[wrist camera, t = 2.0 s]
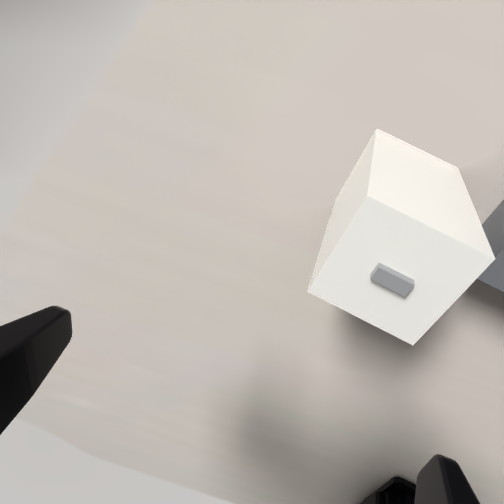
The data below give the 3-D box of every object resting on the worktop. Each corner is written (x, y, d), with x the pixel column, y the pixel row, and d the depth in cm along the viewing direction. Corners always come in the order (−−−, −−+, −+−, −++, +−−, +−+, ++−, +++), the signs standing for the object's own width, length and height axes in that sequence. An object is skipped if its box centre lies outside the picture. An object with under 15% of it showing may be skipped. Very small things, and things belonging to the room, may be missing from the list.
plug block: (457, 167, 18) (497, 264, 11) (406, 236, 20) (413, 351, 13) (376, 128, 18) (366, 199, 11) (334, 200, 20) (305, 296, 13)
